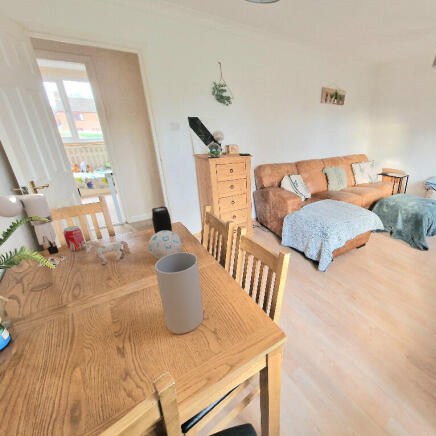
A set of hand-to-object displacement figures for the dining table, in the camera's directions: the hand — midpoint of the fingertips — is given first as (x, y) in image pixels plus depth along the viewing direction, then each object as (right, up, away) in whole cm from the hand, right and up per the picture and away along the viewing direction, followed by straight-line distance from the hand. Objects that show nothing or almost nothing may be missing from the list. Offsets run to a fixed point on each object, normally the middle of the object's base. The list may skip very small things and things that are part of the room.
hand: (54, 253), depth 120 cm
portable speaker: (+44, +5, +22) cm, 50 cm away
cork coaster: (+15, -11, -21) cm, 28 cm away
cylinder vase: (+82, -20, -33) cm, 90 cm away
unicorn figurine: (+31, -5, -4) cm, 32 cm away
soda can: (+5, +1, +8) cm, 9 cm away
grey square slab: (+3, -4, -4) cm, 6 cm away
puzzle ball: (+55, -3, +4) cm, 55 cm away
